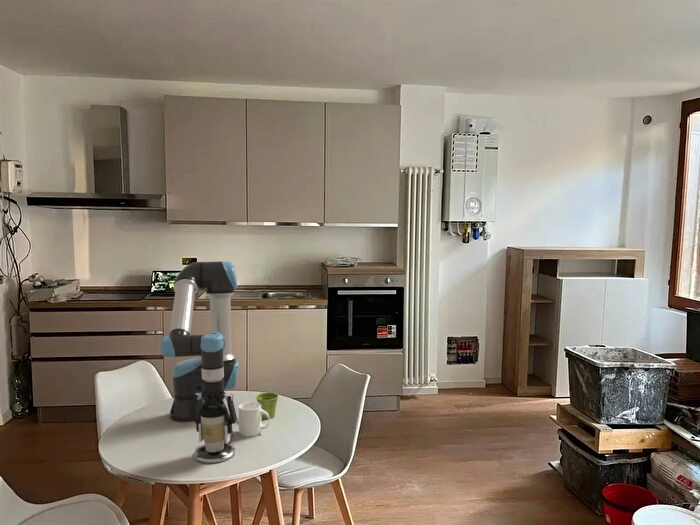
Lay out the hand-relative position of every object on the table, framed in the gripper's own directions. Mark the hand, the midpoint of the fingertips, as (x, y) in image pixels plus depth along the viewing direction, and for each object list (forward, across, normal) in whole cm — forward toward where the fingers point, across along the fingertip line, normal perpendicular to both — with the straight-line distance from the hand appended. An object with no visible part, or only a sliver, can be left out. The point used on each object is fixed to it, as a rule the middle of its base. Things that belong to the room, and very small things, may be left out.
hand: (214, 441), depth 188 cm
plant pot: (+5, +8, +37) cm, 38 cm away
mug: (+5, +8, +20) cm, 22 cm away
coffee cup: (+3, 0, 0) cm, 3 cm away
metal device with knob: (+6, 0, +3) cm, 6 cm away
